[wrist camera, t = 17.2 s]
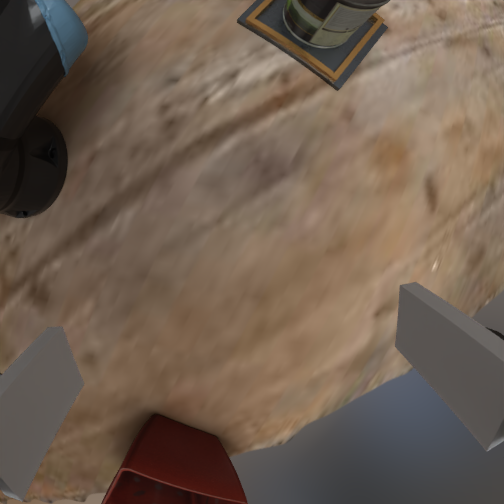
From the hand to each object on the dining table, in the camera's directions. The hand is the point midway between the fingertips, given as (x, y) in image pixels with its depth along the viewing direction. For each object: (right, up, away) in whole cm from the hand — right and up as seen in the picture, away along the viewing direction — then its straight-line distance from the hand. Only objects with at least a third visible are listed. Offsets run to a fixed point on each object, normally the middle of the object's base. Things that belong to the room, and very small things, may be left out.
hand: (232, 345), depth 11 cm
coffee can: (+10, +36, +24) cm, 44 cm away
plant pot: (-14, -33, +40) cm, 53 cm away
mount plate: (+10, +36, +25) cm, 45 cm away
